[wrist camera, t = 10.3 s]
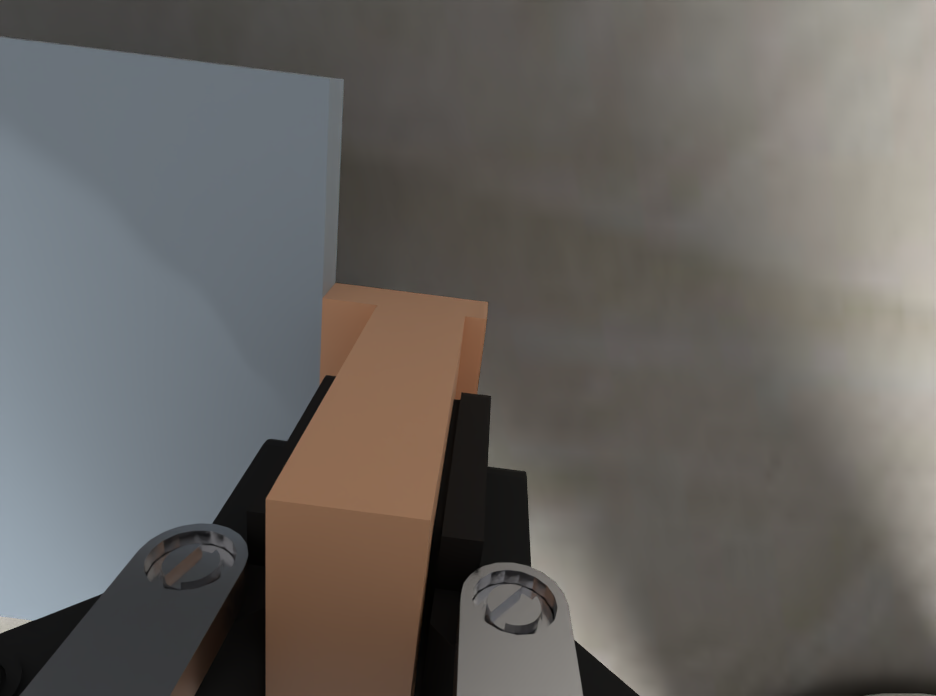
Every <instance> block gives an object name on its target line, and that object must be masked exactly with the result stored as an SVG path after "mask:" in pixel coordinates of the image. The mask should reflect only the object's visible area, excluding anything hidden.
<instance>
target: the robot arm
mask: <svg viewBox="0 0 936 696" xmlns="http://www.w3.org/2000/svg"><path fill="white" fill-rule="evenodd" d="M335 378H336V376H330V375H326V376H325V377H324V379H323V380H322V382H321V384H320V386H319V387H318V389H317V391H316V392H315V394H314V396H313V398H312V399H311V401H310V403H309V404H308V406H307V408H306V410H305V411H304V413H303V415H302V416H301V418H300V420H299V422H298V423H297V425H296V427H295V428H294V430H293V432H292V434H291V435H290V437H289V439H288V440H287V441H284V440H277V439H267V440H266V441H265V443H264V444H263V445H262V447H261V448H260V450H259V451H258V453H257V454H256V456H255V458H254V459H253V461H252V462H251V464H250V465H249V467H248V468H247V470H246V472H245V473H244V475H243V476H242V478H241V479H240V481H239V483H238V484H237V486H236V487H235V489H234V490H233V492H232V493H231V495H230V497H229V498H228V500H227V501H226V503H225V504H224V506H223V507H222V509H221V511H220V512H219V514H218V515H217V517H216V518H215V520H214V521H213V523H212V524H204V523H197V524H190V525H183V526H179V527H176V528H173V529H170V530H167V531H164V532H163V533H161V534H159V535H157V536H156V537H154V538H152V539H150V540H149V541H148V542H147V543H146V544H145V545H144V546H142V547H141V548H140V549H139V550H138V551H137V553H136V554H135V555H134V556H133V557H132V559H131V560H130V561H129V562H128V564H127V565H126V566H125V567H124V568H123V570H122V571H121V572H120V573H119V575H118V576H117V577H116V578H115V580H114V581H113V582H112V583H111V584H110V586H109V587H108V588H107V589H106V591H105V592H104V593H103V594H100V595H98V596H95V597H93V598H90V599H88V600H85V601H82V602H80V603H77V604H75V605H72V606H70V607H67V608H65V609H62V610H59V611H57V612H54V613H52V614H49V615H47V616H44V617H42V618H39V619H37V620H34V621H31V622H29V623H26V624H24V625H21V626H19V627H16V628H14V629H11V630H8V631H6V632H3V633H1V634H0V696H266V498H267V496H268V494H269V492H270V491H271V489H272V487H273V485H274V484H275V482H276V480H277V478H278V477H279V475H280V473H281V472H282V470H283V468H284V466H285V465H286V463H287V461H288V459H289V458H290V456H291V454H292V452H293V451H294V449H295V447H296V445H297V444H298V442H299V440H300V438H301V437H302V435H303V433H304V432H305V430H306V428H307V426H308V425H309V423H310V421H311V419H312V418H313V416H314V414H315V412H316V411H317V409H318V407H319V405H320V404H321V402H322V400H323V399H324V397H325V395H326V393H327V392H328V390H329V388H330V386H331V385H332V383H333V381H334V379H335ZM490 405H491V396H486V395H479V394H471V393H463V392H461V399H460V400H456V399H454V401H453V408H452V414H451V420H450V427H449V433H448V439H447V446H446V452H445V458H444V464H443V471H442V477H441V483H440V490H439V496H438V502H437V509H436V515H435V521H434V528H433V535H432V542H431V550H430V559H429V567H428V576H427V585H426V593H425V602H424V611H423V619H422V628H421V637H420V645H419V654H418V663H417V671H416V680H415V689H414V696H639V695H638V694H637V693H636V692H634V691H633V690H632V689H631V688H630V687H629V686H627V685H626V684H625V683H624V682H623V681H622V680H620V679H619V678H618V677H617V676H616V675H615V674H613V673H612V672H611V671H610V670H609V669H608V668H606V667H605V666H604V665H603V664H602V663H601V662H599V661H598V660H597V659H596V658H595V657H594V656H592V655H591V654H590V653H589V652H588V651H587V650H585V649H584V648H583V647H582V646H581V645H580V644H578V643H577V642H576V641H575V640H574V636H573V630H572V623H571V617H570V611H569V606H568V603H567V600H566V597H565V594H564V593H563V591H562V590H561V589H560V587H559V586H558V585H557V584H556V582H555V581H553V580H552V579H551V578H549V577H548V576H547V575H545V574H544V573H543V572H541V571H538V570H536V569H534V568H532V567H531V557H530V536H529V515H528V494H527V476H526V472H525V471H517V470H510V469H502V468H494V467H487V466H488V446H489V425H490ZM865 696H936V695H930V694H922V693H881V694H873V695H865Z"/></svg>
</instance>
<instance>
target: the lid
mask: <svg viewBox="0 0 936 696" xmlns="http://www.w3.org/2000/svg"><path fill="white" fill-rule="evenodd" d="M343 91H344V79H340V78H332V77H324V76H316V75H308V74H300V73H292V72H284V71H276V70H268V69H260V68H252V67H244V66H236V65H228V64H220V63H212V62H204V61H196V60H188V59H180V58H172V57H164V56H156V55H148V54H140V53H132V52H124V51H116V50H108V49H100V48H92V47H84V46H76V45H68V44H60V43H52V42H44V41H37V40H29V39H21V38H13V37H5V36H0V616H2V617H10V618H18V619H26V620H33V621H34V620H37V619H39V618H42V617H44V616H47V615H49V614H52V613H54V612H57V611H59V610H62V609H65V608H67V607H70V606H72V605H75V604H77V603H80V602H82V601H85V600H88V599H90V598H93V597H95V596H98V595H100V594H103V593H104V592H105V591H106V589H107V588H108V587H109V586H110V584H111V583H112V582H113V581H114V580H115V578H116V577H117V576H118V575H119V573H120V572H121V571H122V570H123V568H124V567H125V566H126V565H127V564H128V562H129V561H130V560H131V559H132V557H133V556H134V555H135V554H136V553H137V551H138V550H139V549H140V548H141V547H142V546H144V545H145V544H146V543H147V542H148V541H149V540H150V539H152V538H154V537H156V536H157V535H159V534H161V533H163V532H164V531H167V530H170V529H173V528H176V527H179V526H183V525H190V524H197V523H204V524H212V523H213V521H214V520H215V518H216V517H217V515H218V514H219V512H220V511H221V509H222V507H223V506H224V504H225V503H226V501H227V500H228V498H229V497H230V495H231V493H232V492H233V490H234V489H235V487H236V486H237V484H238V483H239V481H240V479H241V478H242V476H243V475H244V473H245V472H246V470H247V468H248V467H249V465H250V464H251V462H252V461H253V459H254V458H255V456H256V454H257V453H258V451H259V450H260V448H261V447H262V445H263V444H264V443H265V441H266V440H267V439H277V440H284V441H287V440H288V439H289V437H290V435H291V434H292V432H293V430H294V428H295V427H296V425H297V423H298V422H299V420H300V418H301V416H302V415H303V413H304V411H305V410H306V408H307V406H308V404H309V403H310V401H311V399H312V398H313V396H314V394H315V392H316V391H317V389H318V387H319V386H320V384H321V382H322V380H323V379H324V377H325V376H326V375H330V376H336V378H335V379H334V381H333V383H332V385H331V386H330V388H329V390H328V392H327V393H326V395H325V397H324V399H323V400H322V402H321V404H320V405H319V407H318V409H317V411H316V412H315V414H314V416H313V418H312V419H311V421H310V423H309V425H308V426H307V428H306V430H305V432H304V433H303V435H302V437H301V438H300V440H299V442H298V444H297V445H296V447H295V449H294V451H293V452H292V454H291V456H290V458H289V459H288V461H287V463H286V465H285V466H284V468H283V470H282V472H281V473H280V475H279V477H278V478H277V480H276V482H275V484H274V485H273V487H272V489H271V491H270V492H269V494H268V496H267V498H266V696H414V689H415V680H416V671H417V663H418V654H419V645H420V637H421V628H422V619H423V611H424V602H425V593H426V585H427V576H428V567H429V559H430V550H431V542H432V535H433V528H434V521H435V515H436V509H437V502H438V496H439V490H440V483H441V477H442V471H443V464H444V458H445V452H446V446H447V439H448V433H449V427H450V420H451V414H452V408H453V401H454V399H456V400H460V399H461V392H463V393H471V394H477V390H478V383H479V375H480V368H481V360H482V353H483V345H484V338H485V331H486V323H487V313H488V302H484V301H476V300H468V299H460V298H452V297H444V296H436V295H428V294H421V293H413V292H405V291H397V290H389V289H381V288H373V287H365V286H357V285H349V284H342V283H336V261H337V236H338V212H339V188H340V164H341V140H342V116H343Z"/></svg>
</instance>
